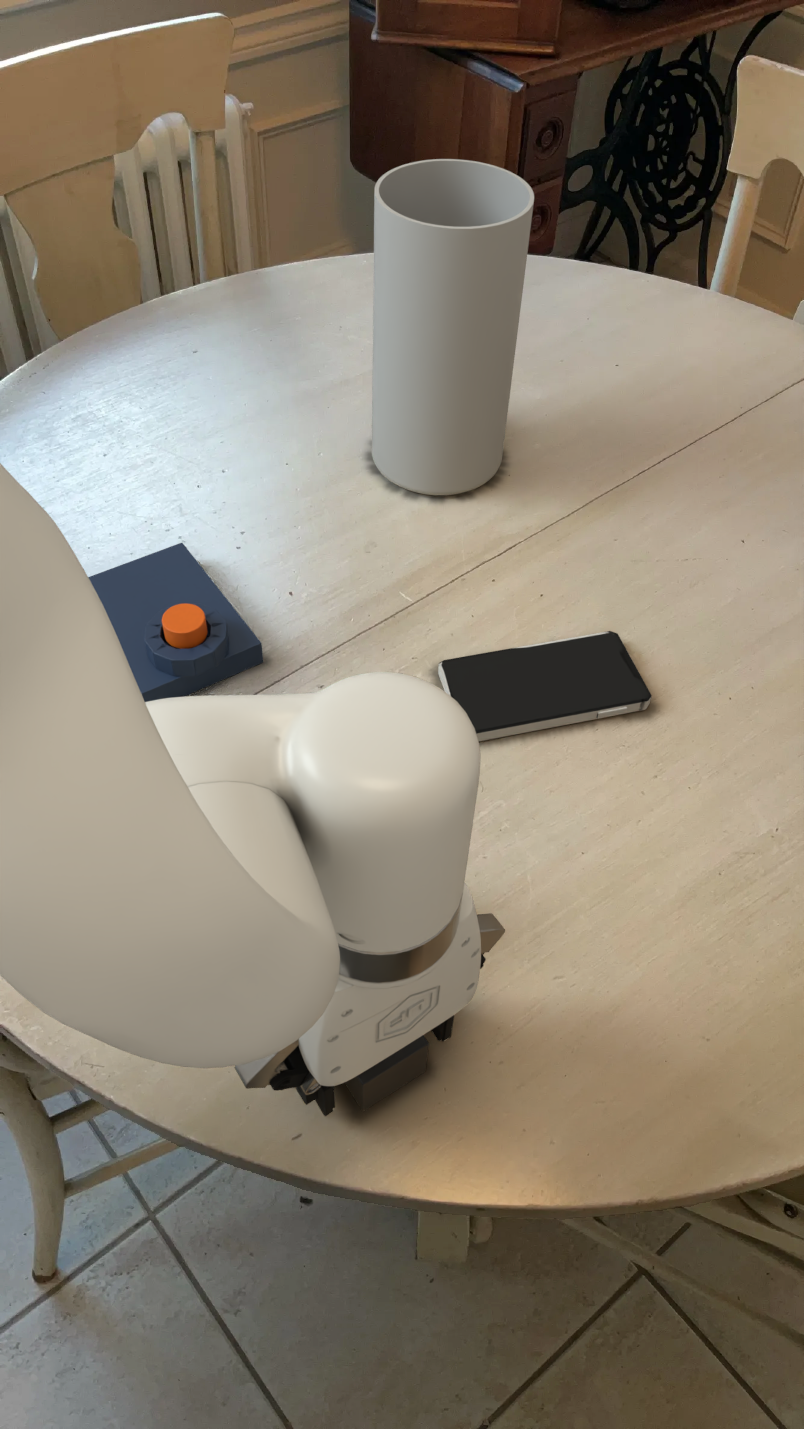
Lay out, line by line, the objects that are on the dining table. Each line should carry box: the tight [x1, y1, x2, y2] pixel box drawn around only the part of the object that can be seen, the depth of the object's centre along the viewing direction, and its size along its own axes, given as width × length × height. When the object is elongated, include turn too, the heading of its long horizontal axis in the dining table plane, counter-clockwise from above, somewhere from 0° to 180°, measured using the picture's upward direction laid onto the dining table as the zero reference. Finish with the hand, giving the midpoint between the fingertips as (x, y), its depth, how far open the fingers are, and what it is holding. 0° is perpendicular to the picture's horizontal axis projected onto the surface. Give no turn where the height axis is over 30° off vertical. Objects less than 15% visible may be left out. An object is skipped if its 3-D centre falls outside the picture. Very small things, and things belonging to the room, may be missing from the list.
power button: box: [162, 603, 207, 649], centre depth 79 cm, size 3×3×2 cm
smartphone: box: [437, 630, 653, 742], centre depth 82 cm, size 8×1×15 cm
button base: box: [88, 542, 264, 702], centre depth 83 cm, size 15×10×4 cm
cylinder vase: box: [371, 158, 535, 496], centre depth 92 cm, size 12×12×25 cm
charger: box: [343, 1034, 430, 1112], centre depth 61 cm, size 5×4×4 cm
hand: (374, 1054), depth 62 cm, fingers open, 7 cm apart
